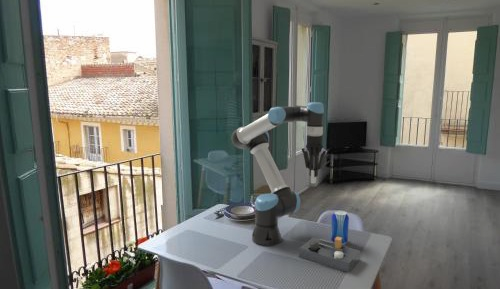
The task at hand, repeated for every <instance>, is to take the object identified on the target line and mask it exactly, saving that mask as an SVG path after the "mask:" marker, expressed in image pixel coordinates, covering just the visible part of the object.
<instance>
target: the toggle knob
mask: <svg viewBox="0 0 500 289" xmlns="http://www.w3.org/2000/svg"><path fill="white" fill-rule="evenodd" d="M334 240H335V248H338V249H340V248H341V243H342V238H341V237H336V238H335V239H334Z"/></svg>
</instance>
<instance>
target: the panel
mask: <svg viewBox="0 0 500 289" xmlns="http://www.w3.org/2000/svg"><path fill="white" fill-rule="evenodd" d="M311 241H316V242H318V243H319V250H318V251H317V252H315V251H312V250H310V242H311ZM336 251H341V252H343V253H344V256H343V259H339V258H335V257H334V252H336ZM298 257H299V258H301V259H304V260H307V261H311V262H314V263H317V264H319V265H323V266H326V267H329V268H332V269H334V270H339V271H342V272H345V273H348V274H349V273H350V272H351V270H353V269H354V267H355V266H356V265H357V263H359V261H361V250H359V249H355V248H352V247H348V246H346V245H341V248H340V249H338V248H335V243H333V242H332V241H329V240H325V239H321V238H320V239H319V238H314V237H312V238H311V239H309V240H308V241H306V242H304V244H302V245H301V246H299V248H298Z"/></svg>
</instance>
